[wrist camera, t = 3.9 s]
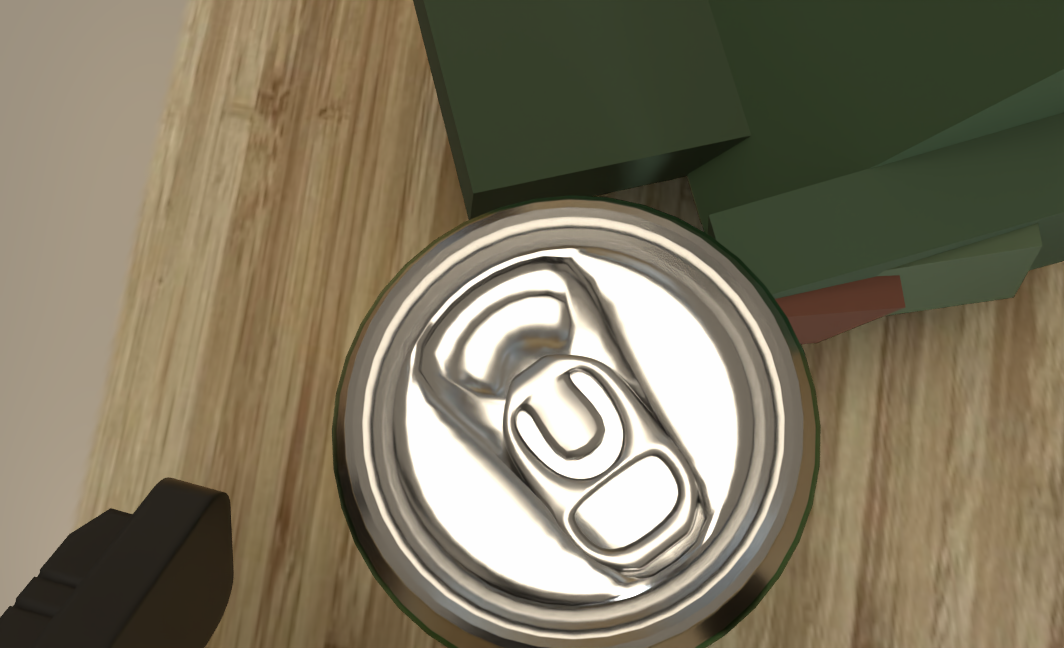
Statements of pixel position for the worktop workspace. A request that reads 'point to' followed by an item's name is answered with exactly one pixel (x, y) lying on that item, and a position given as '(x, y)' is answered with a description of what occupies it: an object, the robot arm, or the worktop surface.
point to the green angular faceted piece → (781, 132)
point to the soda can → (576, 432)
